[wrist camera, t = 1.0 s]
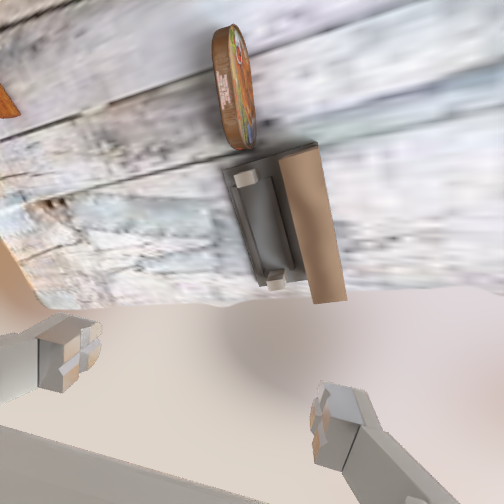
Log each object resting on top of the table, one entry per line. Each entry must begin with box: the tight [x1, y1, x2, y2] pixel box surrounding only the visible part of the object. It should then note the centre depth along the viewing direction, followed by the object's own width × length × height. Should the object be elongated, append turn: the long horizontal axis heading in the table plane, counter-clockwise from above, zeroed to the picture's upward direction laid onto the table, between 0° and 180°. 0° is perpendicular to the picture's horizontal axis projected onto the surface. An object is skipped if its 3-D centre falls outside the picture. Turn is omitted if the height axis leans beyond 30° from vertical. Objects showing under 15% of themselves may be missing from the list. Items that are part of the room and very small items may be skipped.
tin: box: [212, 24, 256, 150], centre depth 37 cm, size 15×3×8 cm, turn 7°
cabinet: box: [223, 142, 347, 304], centre depth 43 cm, size 16×23×10 cm
